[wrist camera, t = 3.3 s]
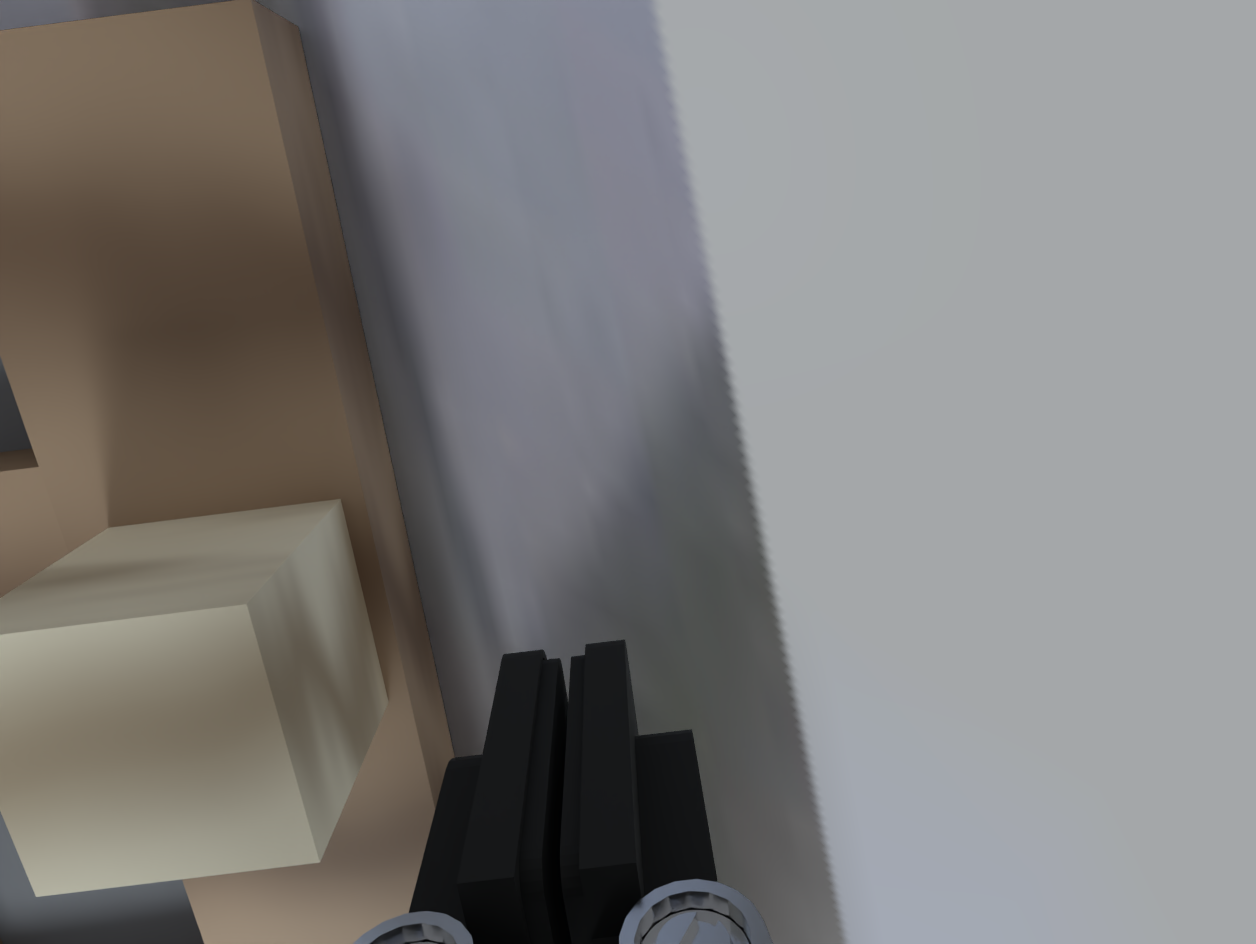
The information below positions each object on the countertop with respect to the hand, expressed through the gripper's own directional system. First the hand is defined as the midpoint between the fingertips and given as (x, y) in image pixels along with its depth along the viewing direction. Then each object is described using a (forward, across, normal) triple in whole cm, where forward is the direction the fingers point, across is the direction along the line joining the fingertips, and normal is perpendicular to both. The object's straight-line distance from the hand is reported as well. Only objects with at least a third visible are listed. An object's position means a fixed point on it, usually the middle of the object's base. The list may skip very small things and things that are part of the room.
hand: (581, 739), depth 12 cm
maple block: (+7, +8, +1) cm, 11 cm away
